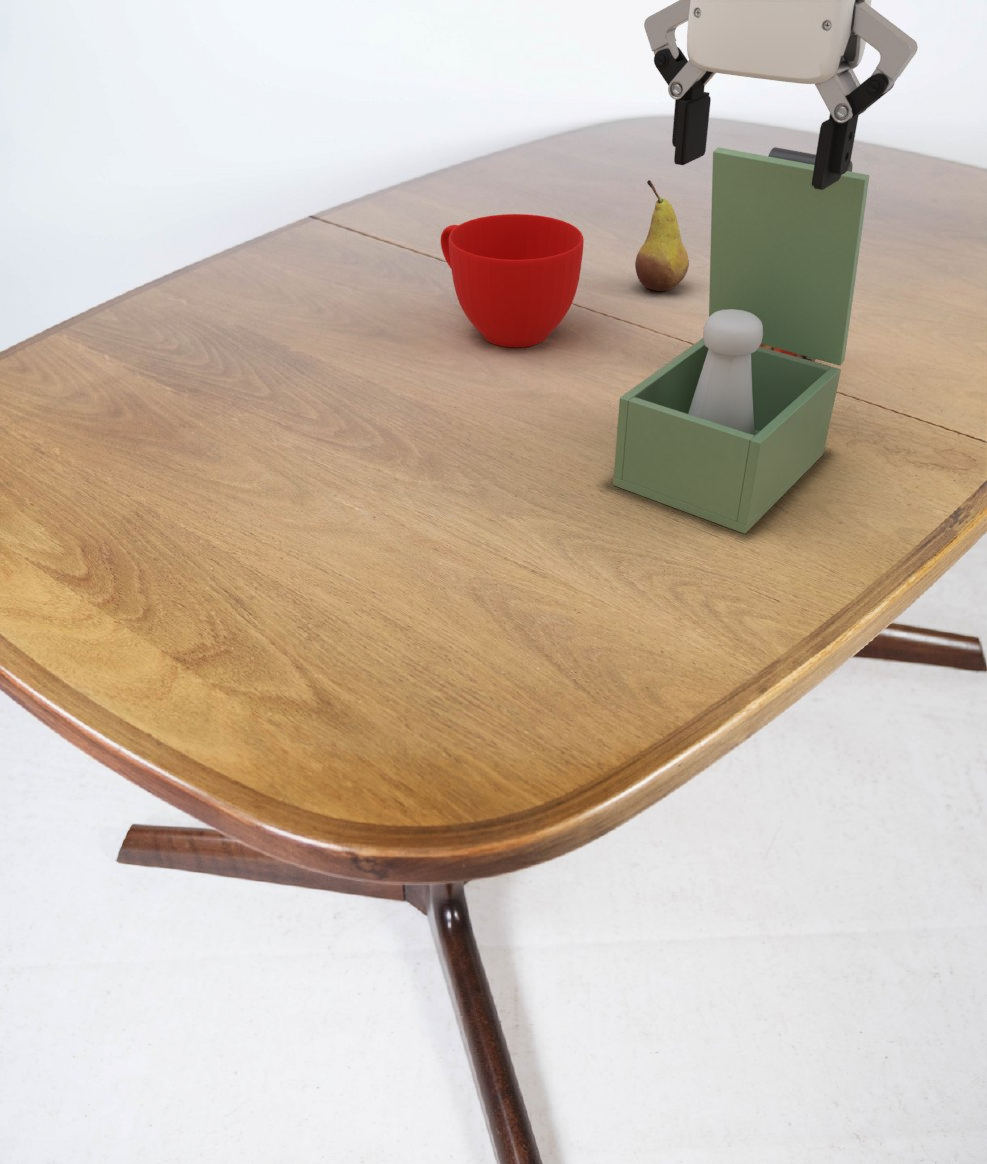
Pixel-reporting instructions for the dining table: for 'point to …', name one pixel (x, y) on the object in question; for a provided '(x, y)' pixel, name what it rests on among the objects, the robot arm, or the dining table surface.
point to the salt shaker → (728, 370)
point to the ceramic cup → (514, 274)
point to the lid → (786, 248)
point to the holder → (724, 437)
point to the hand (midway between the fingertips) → (755, 171)
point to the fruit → (662, 250)
